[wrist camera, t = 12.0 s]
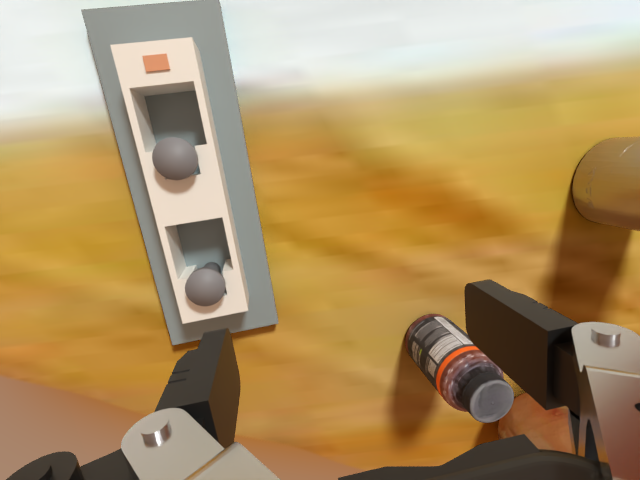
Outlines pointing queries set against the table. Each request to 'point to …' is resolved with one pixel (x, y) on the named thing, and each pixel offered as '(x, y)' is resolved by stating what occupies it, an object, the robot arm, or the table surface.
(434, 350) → the supplement bottle
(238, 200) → the board
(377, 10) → the table surface
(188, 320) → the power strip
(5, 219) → the table surface
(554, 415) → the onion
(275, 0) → the table surface
